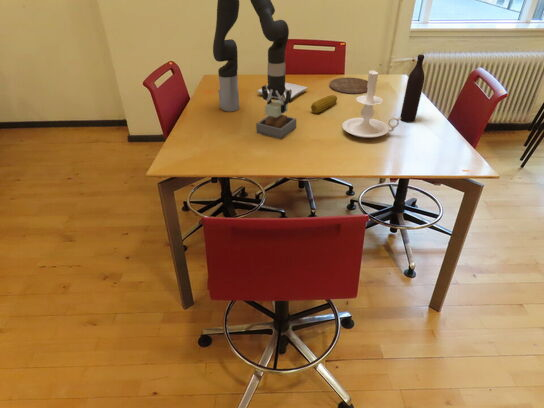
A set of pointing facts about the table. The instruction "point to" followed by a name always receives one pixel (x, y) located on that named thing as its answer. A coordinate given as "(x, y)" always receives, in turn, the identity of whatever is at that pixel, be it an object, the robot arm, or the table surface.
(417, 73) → the wine bottle
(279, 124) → the walnut block
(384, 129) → the candlestick
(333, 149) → the table surface
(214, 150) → the table surface
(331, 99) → the food
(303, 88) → the salad plate
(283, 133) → the tray
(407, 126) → the table surface
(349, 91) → the trivet
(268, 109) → the sage carton
